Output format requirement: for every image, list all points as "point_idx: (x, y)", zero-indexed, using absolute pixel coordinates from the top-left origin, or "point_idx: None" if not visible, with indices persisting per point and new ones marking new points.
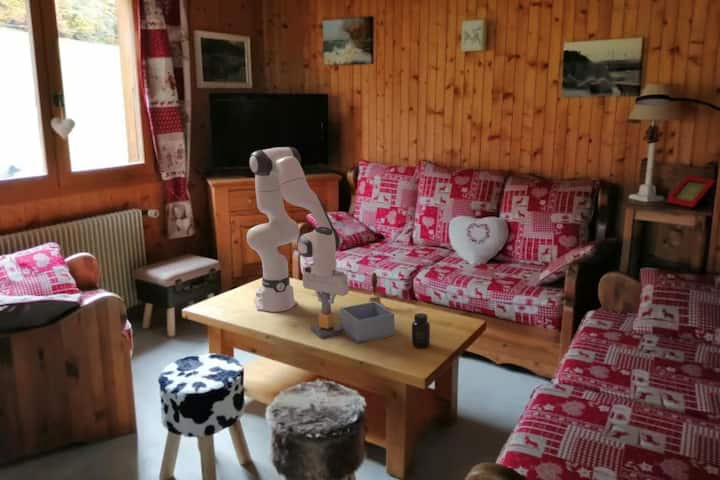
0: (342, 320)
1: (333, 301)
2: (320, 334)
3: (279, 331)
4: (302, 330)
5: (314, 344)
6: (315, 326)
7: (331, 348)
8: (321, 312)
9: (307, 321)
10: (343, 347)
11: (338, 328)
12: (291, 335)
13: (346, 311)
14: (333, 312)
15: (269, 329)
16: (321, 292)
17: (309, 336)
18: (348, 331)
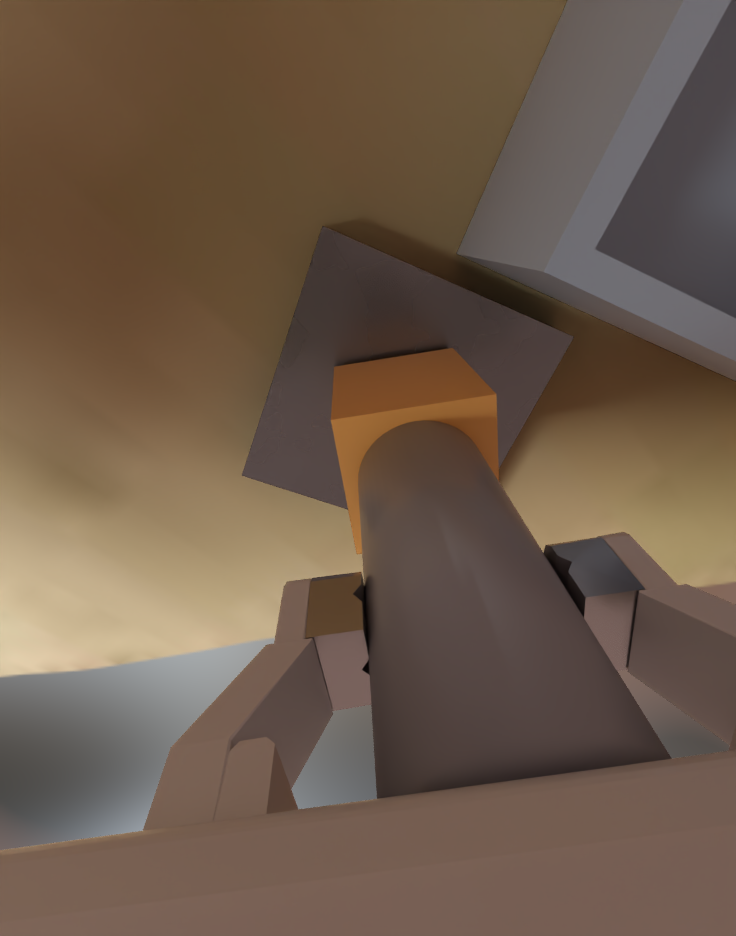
0: (549, 289)
1: (637, 556)
2: None
3: (103, 614)
4: (209, 503)
5: None
6: (302, 466)
7: None
8: (358, 510)
9: (43, 332)
10: (690, 517)
11: (522, 360)
12: (231, 605)
13: (732, 324)
14: (495, 406)
15: (18, 634)
16: None
17: (348, 542)
18: (641, 336)
